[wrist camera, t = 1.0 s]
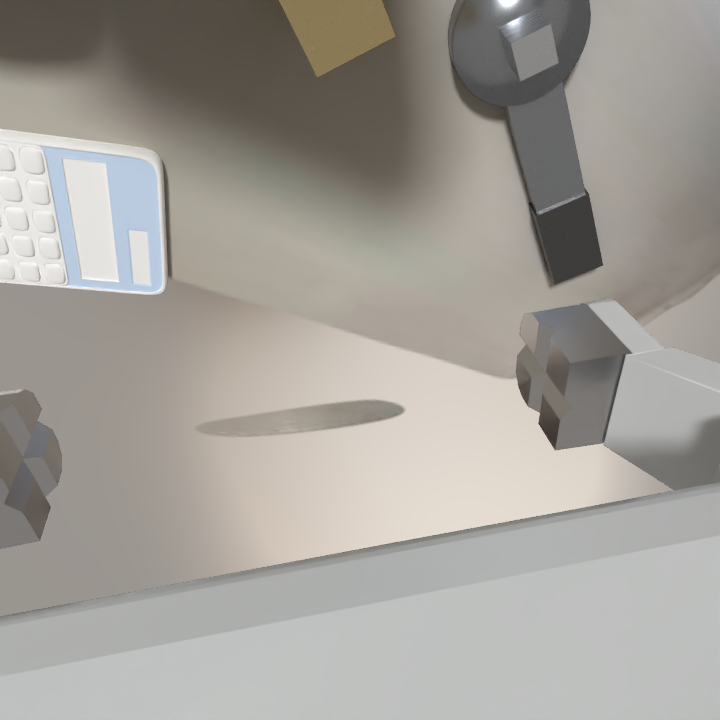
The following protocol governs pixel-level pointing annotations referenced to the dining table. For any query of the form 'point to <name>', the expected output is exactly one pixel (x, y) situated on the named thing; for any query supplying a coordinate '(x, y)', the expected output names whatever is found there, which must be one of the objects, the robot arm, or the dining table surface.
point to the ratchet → (534, 110)
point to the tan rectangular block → (337, 29)
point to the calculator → (81, 214)
